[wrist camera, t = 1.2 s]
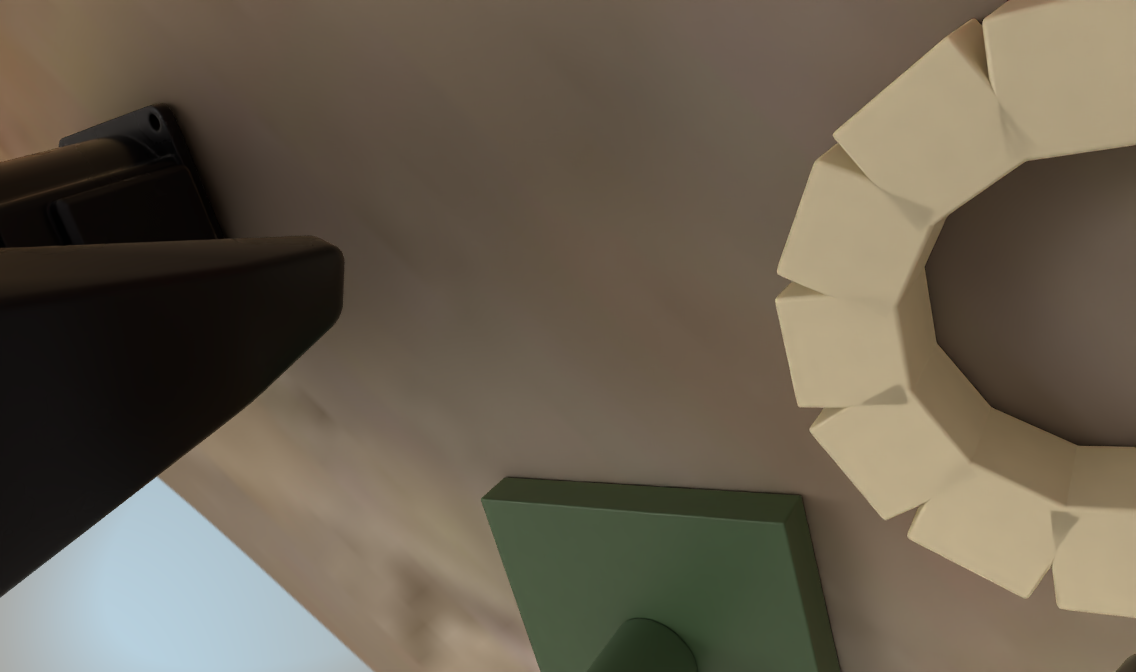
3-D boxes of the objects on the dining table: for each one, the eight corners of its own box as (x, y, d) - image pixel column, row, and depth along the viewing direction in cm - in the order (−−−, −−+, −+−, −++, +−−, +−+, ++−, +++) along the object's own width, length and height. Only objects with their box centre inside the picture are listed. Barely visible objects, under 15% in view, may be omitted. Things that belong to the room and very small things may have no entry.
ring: (863, 525, 20) (833, 584, 18) (770, 58, 17) (724, 79, 15) (1533, 577, 14) (1580, 674, 12) (1578, -141, 11) (1651, -142, 9)
